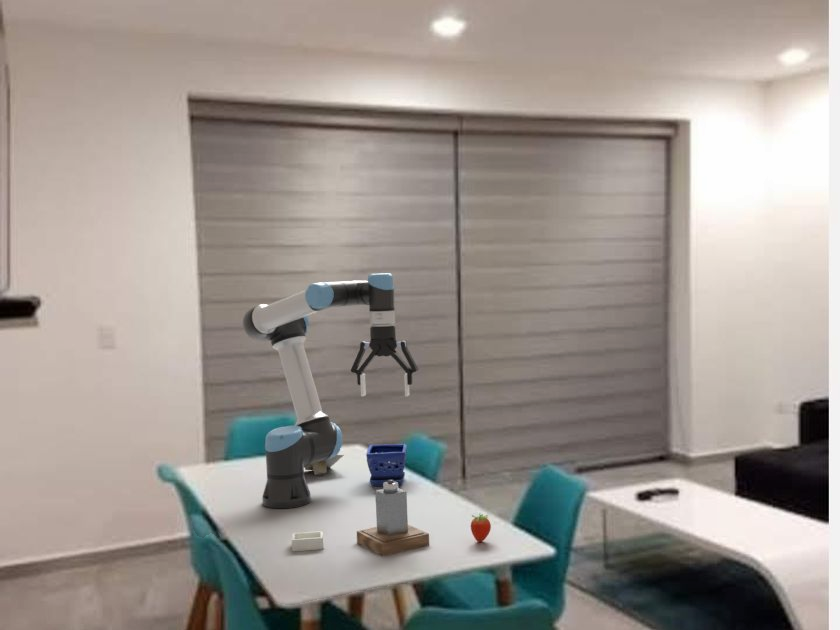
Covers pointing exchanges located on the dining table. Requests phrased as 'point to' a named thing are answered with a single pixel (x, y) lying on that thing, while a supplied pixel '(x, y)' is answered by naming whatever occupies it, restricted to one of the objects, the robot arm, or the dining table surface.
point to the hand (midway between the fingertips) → (385, 395)
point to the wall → (322, 465)
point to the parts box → (307, 541)
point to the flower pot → (386, 463)
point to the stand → (392, 540)
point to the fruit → (480, 527)
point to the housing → (391, 509)
